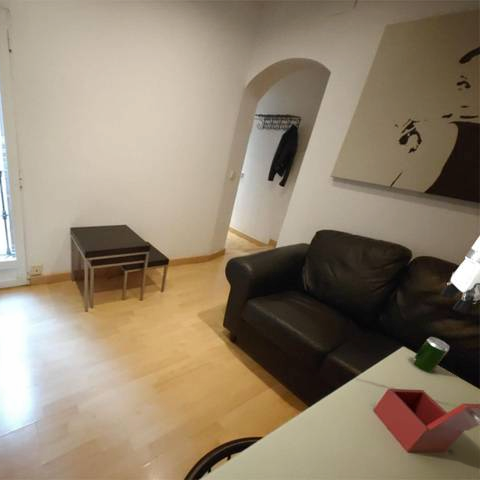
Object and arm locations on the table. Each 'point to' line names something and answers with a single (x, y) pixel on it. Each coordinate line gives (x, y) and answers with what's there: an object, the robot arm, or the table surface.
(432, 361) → the beer can
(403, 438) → the red open box
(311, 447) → the table surface
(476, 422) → the lid
